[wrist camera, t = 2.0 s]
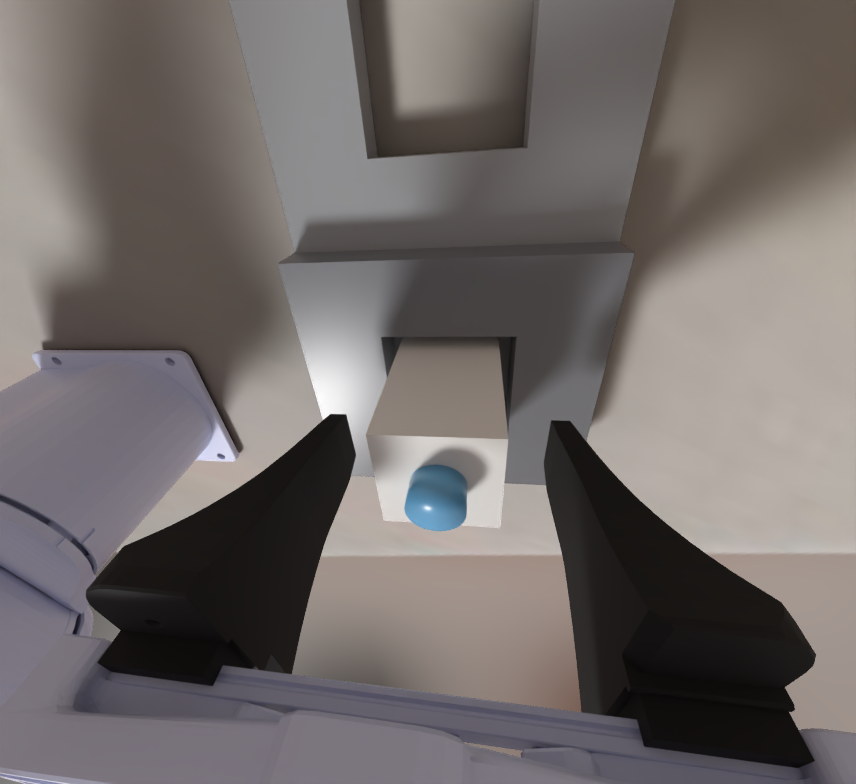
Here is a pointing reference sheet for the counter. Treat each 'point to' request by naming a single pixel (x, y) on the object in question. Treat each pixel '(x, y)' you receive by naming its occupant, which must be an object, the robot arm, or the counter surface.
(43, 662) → the robot arm
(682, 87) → the counter surface
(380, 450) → the plug block
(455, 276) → the jack panel
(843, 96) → the counter surface
